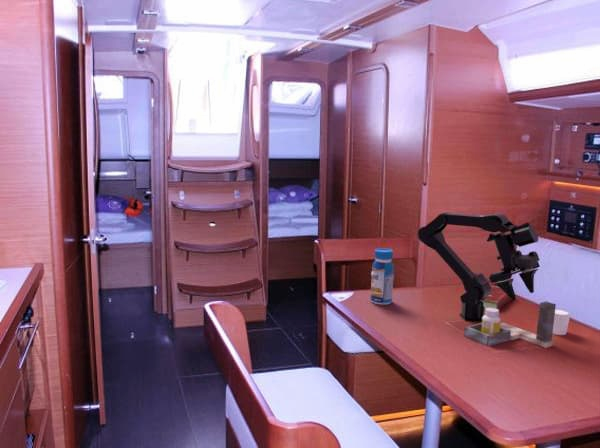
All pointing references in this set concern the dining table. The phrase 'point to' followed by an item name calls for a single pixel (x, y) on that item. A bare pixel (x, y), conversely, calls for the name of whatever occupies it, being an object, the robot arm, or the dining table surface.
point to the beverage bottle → (382, 277)
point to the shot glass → (560, 322)
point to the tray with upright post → (519, 330)
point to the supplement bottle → (491, 321)
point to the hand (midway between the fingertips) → (523, 296)
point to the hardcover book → (495, 298)
